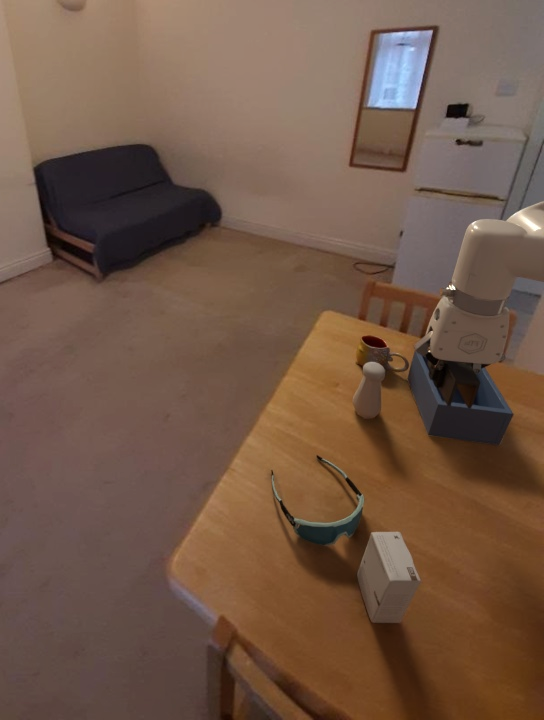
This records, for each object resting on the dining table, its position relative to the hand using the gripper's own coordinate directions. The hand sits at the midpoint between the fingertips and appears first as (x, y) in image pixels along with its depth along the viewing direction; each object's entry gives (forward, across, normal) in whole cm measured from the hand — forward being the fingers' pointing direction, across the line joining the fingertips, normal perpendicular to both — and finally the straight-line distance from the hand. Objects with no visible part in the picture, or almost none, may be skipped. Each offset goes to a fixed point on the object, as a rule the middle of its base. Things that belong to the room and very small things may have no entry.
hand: (448, 382), depth 71 cm
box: (+19, +9, +12) cm, 24 cm away
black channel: (0, 0, 0) cm, 0 cm away
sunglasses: (+19, -22, -13) cm, 32 cm away
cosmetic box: (+19, -14, -26) cm, 35 cm away
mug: (+19, -3, +24) cm, 31 cm away
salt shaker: (+19, -9, +9) cm, 23 cm away
